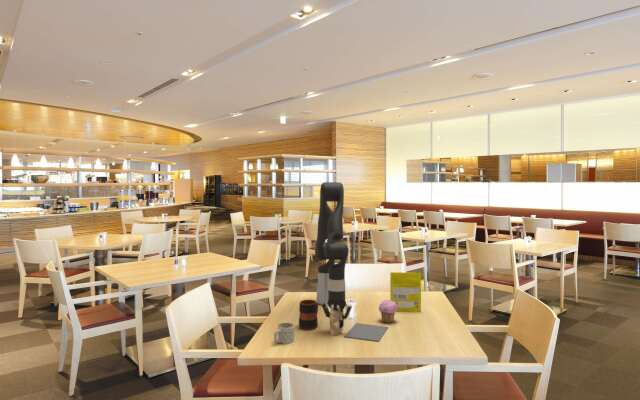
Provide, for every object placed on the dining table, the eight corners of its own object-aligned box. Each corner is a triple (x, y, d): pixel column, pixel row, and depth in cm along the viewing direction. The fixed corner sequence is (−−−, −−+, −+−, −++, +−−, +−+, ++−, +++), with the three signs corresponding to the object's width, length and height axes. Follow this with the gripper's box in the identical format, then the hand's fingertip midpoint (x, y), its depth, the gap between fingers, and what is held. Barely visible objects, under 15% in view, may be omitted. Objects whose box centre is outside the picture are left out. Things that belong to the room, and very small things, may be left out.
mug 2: (325, 324, 201) (325, 299, 201) (310, 331, 191) (310, 305, 190) (309, 320, 206) (309, 296, 205) (295, 328, 196) (294, 302, 195)
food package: (420, 311, 219) (420, 272, 218) (421, 312, 218) (421, 273, 217) (390, 310, 220) (390, 272, 220) (390, 311, 219) (390, 272, 218)
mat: (344, 337, 184) (344, 336, 184) (356, 324, 201) (356, 322, 201) (378, 341, 178) (378, 340, 178) (388, 327, 195) (388, 326, 195)
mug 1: (285, 336, 185) (285, 321, 185) (297, 340, 181) (297, 324, 180) (268, 343, 177) (268, 327, 177) (280, 347, 173) (280, 331, 173)
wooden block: (330, 334, 187) (330, 311, 187) (336, 328, 195) (336, 306, 194) (337, 335, 186) (337, 312, 186) (343, 329, 194) (343, 307, 193)
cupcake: (380, 317, 210) (380, 297, 209) (398, 319, 207) (398, 298, 207) (377, 323, 202) (377, 302, 201) (395, 325, 199) (395, 303, 198)
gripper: (318, 289, 189) (318, 328, 189) (349, 292, 183) (349, 332, 184) (324, 285, 196) (325, 322, 196) (354, 288, 190) (354, 326, 191)
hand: (336, 327), depth 190 cm, fingers closed on wooden block, 3 cm apart
